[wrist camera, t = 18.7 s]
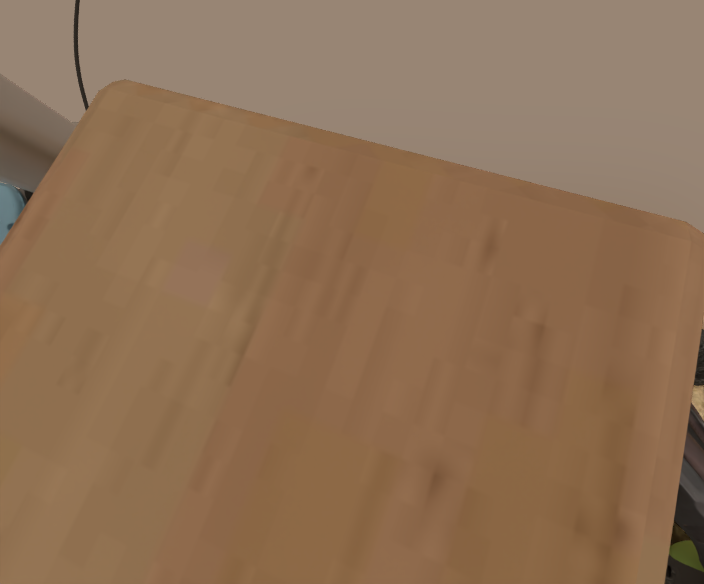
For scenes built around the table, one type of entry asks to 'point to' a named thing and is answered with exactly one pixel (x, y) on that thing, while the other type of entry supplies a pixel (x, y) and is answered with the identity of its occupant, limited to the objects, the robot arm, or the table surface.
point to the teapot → (686, 554)
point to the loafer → (692, 484)
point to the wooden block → (332, 363)
